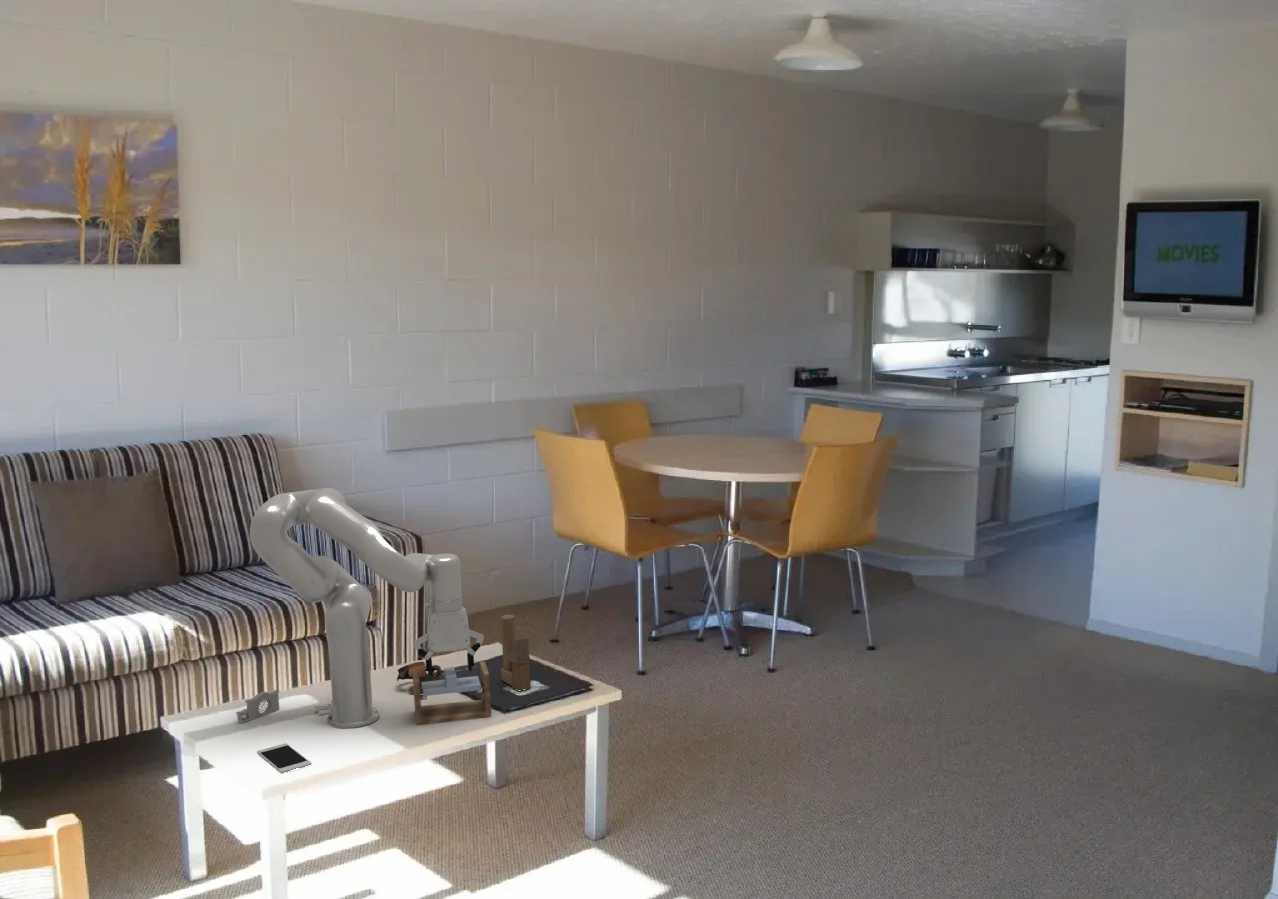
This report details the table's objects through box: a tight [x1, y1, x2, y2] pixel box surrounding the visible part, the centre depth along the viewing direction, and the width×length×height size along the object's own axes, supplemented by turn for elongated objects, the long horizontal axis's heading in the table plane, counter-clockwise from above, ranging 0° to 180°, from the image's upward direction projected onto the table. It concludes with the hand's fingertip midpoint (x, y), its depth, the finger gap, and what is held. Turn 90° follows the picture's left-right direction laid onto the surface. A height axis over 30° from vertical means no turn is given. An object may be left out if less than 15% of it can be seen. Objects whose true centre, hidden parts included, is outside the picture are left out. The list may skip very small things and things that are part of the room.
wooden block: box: [500, 614, 531, 691], centre depth 321 cm, size 4×11×18 cm, turn 31°
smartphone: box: [256, 743, 312, 774], centre depth 278 cm, size 7×15×1 cm, turn 37°
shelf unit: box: [412, 660, 492, 726], centre depth 302 cm, size 18×10×11 cm, turn 103°
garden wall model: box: [235, 688, 281, 724], centre depth 305 cm, size 12×2×6 cm, turn 143°
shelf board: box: [421, 666, 481, 697], centre depth 301 cm, size 14×7×4 cm, turn 104°
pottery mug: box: [396, 661, 444, 696], centre depth 322 cm, size 12×10×8 cm
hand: (450, 671), depth 301 cm, fingers open, 9 cm apart
